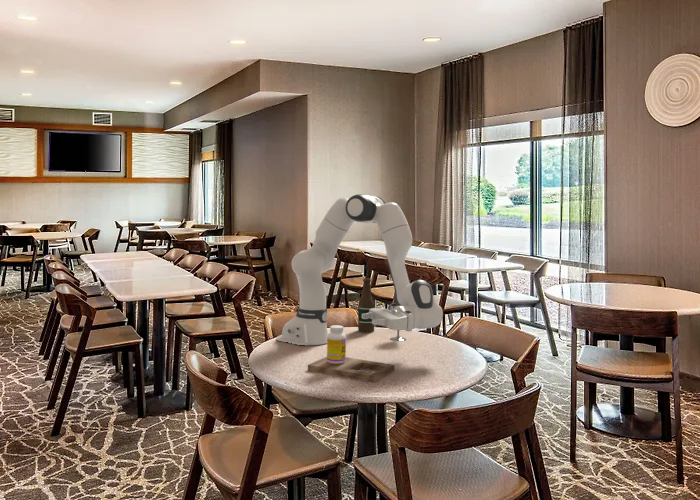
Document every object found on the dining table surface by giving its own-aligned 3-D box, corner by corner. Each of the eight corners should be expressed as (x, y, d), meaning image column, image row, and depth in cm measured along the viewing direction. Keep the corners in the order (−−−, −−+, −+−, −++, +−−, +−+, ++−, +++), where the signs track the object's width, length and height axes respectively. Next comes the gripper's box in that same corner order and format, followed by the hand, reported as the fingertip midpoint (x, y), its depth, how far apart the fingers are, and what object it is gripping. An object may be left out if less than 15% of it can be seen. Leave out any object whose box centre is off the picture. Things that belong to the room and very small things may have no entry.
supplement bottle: (343, 365, 212) (343, 329, 211) (324, 363, 213) (325, 327, 212) (347, 360, 218) (347, 325, 217) (329, 359, 220) (329, 324, 219)
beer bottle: (376, 329, 278) (377, 278, 276) (371, 333, 271) (372, 280, 269) (360, 328, 281) (361, 277, 279) (355, 331, 274) (356, 279, 271)
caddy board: (307, 370, 212) (307, 364, 212) (330, 359, 226) (330, 354, 226) (374, 382, 200) (374, 376, 200) (394, 370, 214) (394, 364, 214)
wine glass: (410, 338, 262) (411, 304, 261) (402, 342, 255) (402, 307, 254) (394, 336, 266) (395, 302, 265) (385, 339, 260) (386, 305, 258)
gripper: (390, 303, 233) (356, 305, 228) (414, 315, 214) (379, 316, 209) (389, 320, 234) (356, 321, 229) (413, 332, 215) (378, 334, 210)
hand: (367, 319), depth 219 cm, fingers open, 8 cm apart
